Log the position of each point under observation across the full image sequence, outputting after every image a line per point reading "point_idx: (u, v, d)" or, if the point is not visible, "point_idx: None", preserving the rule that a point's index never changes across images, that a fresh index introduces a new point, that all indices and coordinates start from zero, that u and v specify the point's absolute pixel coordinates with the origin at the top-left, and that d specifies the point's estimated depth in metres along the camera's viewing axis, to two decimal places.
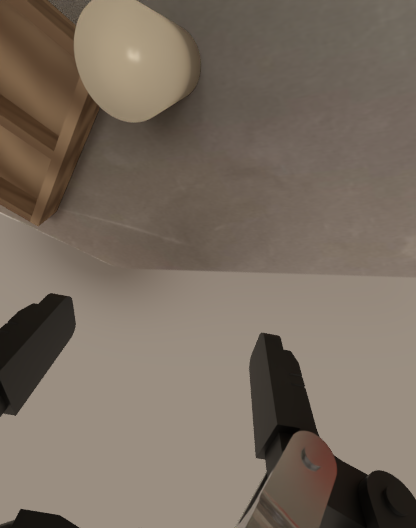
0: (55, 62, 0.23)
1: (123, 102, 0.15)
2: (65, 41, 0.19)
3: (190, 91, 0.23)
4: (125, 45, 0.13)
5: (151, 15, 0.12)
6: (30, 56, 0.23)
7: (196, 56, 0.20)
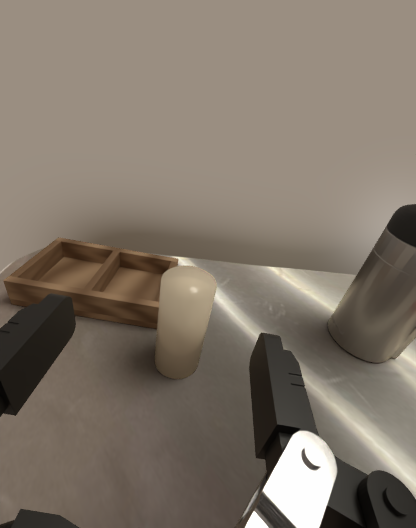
0: (144, 298, 0.37)
1: (172, 283, 0.23)
2: None
3: (171, 369, 0.27)
4: (197, 281, 0.24)
5: (215, 287, 0.24)
6: (141, 289, 0.39)
7: (194, 361, 0.28)
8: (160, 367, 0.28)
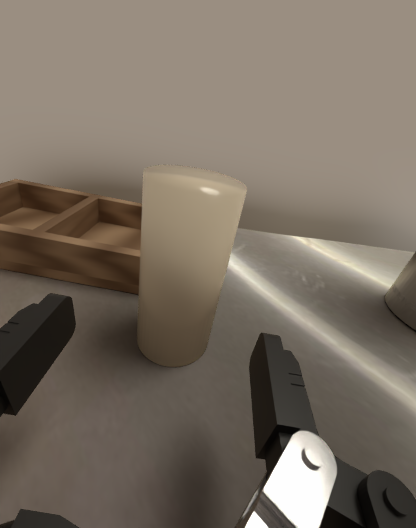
0: None
1: (164, 175, 0.12)
2: None
3: (163, 348, 0.16)
4: (212, 180, 0.13)
5: (245, 189, 0.13)
6: (126, 245, 0.27)
7: (202, 336, 0.17)
8: (145, 346, 0.17)
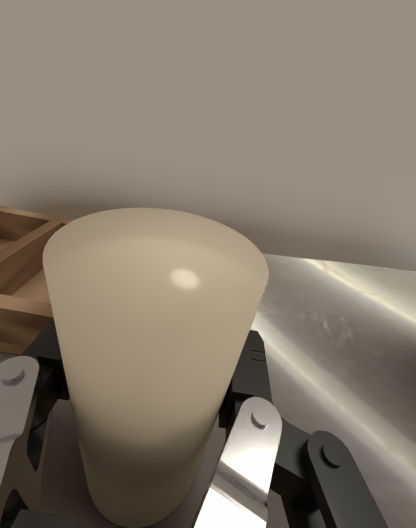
0: None
1: (94, 248, 0.06)
2: None
3: (119, 512, 0.10)
4: (198, 247, 0.07)
5: (265, 271, 0.06)
6: None
7: (185, 484, 0.10)
8: (92, 496, 0.10)
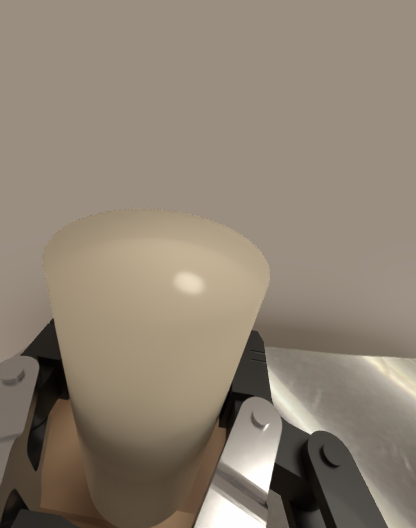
0: (207, 471, 0.21)
1: (95, 250, 0.06)
2: None
3: (120, 514, 0.09)
4: (199, 248, 0.07)
5: (267, 272, 0.06)
6: None
7: (186, 486, 0.10)
8: (93, 498, 0.10)
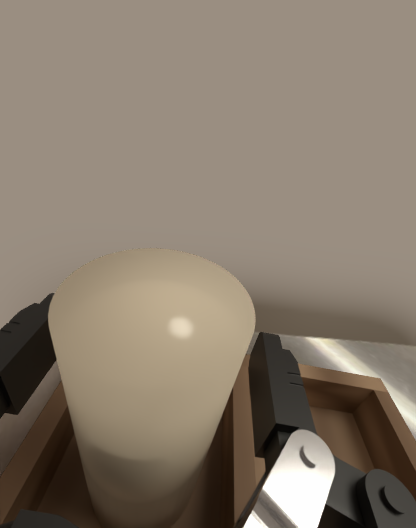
0: None
1: (95, 304, 0.06)
2: None
3: None
4: (190, 294, 0.07)
5: (252, 319, 0.07)
6: None
7: (183, 503, 0.11)
8: (96, 513, 0.11)
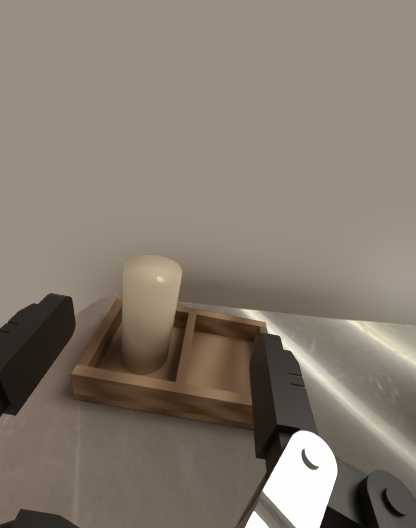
0: (238, 382, 0.29)
1: (135, 270, 0.23)
2: None
3: (136, 363, 0.26)
4: (162, 269, 0.24)
5: (180, 276, 0.24)
6: (229, 365, 0.30)
7: (161, 355, 0.27)
8: (125, 362, 0.27)
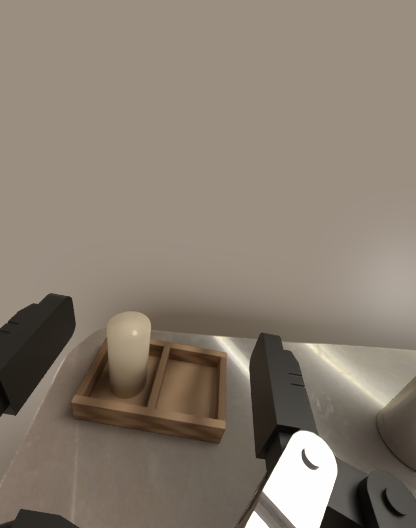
0: (199, 403, 0.37)
1: (115, 328, 0.31)
2: (222, 407, 0.34)
3: (120, 391, 0.35)
4: (136, 325, 0.32)
5: (149, 331, 0.32)
6: (194, 389, 0.39)
7: (138, 384, 0.36)
8: (112, 389, 0.36)
